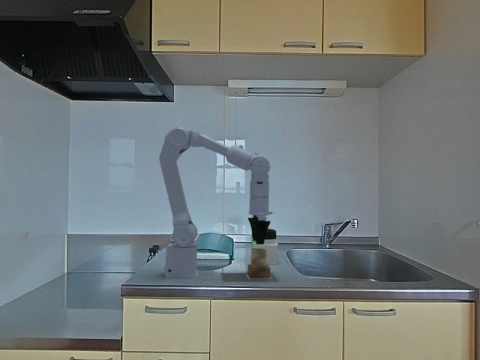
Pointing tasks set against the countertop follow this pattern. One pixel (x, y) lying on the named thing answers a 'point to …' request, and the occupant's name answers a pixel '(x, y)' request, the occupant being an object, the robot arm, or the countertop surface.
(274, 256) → the medicine bottle
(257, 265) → the maple block
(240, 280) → the mat
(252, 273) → the walnut base
